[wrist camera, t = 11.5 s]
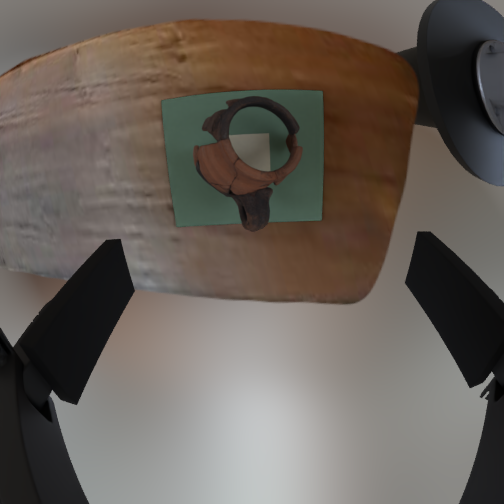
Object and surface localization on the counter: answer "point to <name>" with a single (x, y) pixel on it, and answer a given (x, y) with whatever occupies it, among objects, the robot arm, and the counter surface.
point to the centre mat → (246, 155)
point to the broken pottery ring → (236, 170)
